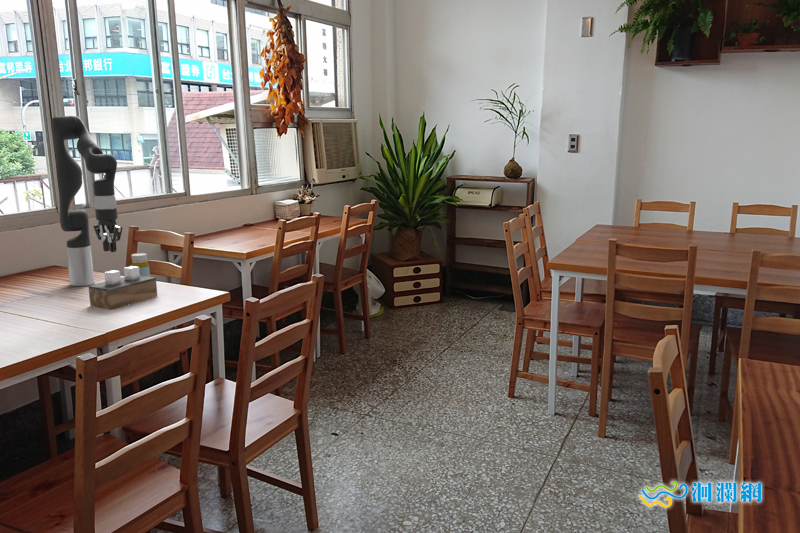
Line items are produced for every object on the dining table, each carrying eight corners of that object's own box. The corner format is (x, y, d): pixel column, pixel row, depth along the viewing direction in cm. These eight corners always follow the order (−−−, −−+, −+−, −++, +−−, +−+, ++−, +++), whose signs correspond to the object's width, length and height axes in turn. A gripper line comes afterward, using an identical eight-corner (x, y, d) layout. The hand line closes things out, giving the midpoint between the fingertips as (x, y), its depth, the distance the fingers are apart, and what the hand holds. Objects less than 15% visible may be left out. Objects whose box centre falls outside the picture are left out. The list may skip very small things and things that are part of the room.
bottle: (138, 290, 256) (135, 256, 253) (130, 288, 260) (127, 254, 257) (153, 287, 261) (150, 254, 258) (145, 285, 265) (142, 252, 262)
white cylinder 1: (106, 289, 234) (104, 272, 232) (114, 287, 237) (113, 270, 236) (113, 290, 232) (111, 273, 231) (121, 288, 236) (120, 271, 234)
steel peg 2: (125, 284, 242) (123, 267, 240) (133, 282, 245) (131, 265, 244) (132, 285, 240) (130, 268, 239) (140, 283, 244) (138, 266, 242)
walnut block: (90, 305, 233) (88, 285, 231) (136, 292, 252) (135, 274, 251) (111, 309, 228) (109, 289, 226) (157, 296, 247) (155, 277, 245)
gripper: (84, 207, 228) (89, 251, 231) (110, 209, 222) (114, 254, 225) (101, 205, 234) (106, 248, 238) (126, 207, 228) (131, 251, 232)
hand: (110, 251), depth 232 cm, fingers open, 3 cm apart
